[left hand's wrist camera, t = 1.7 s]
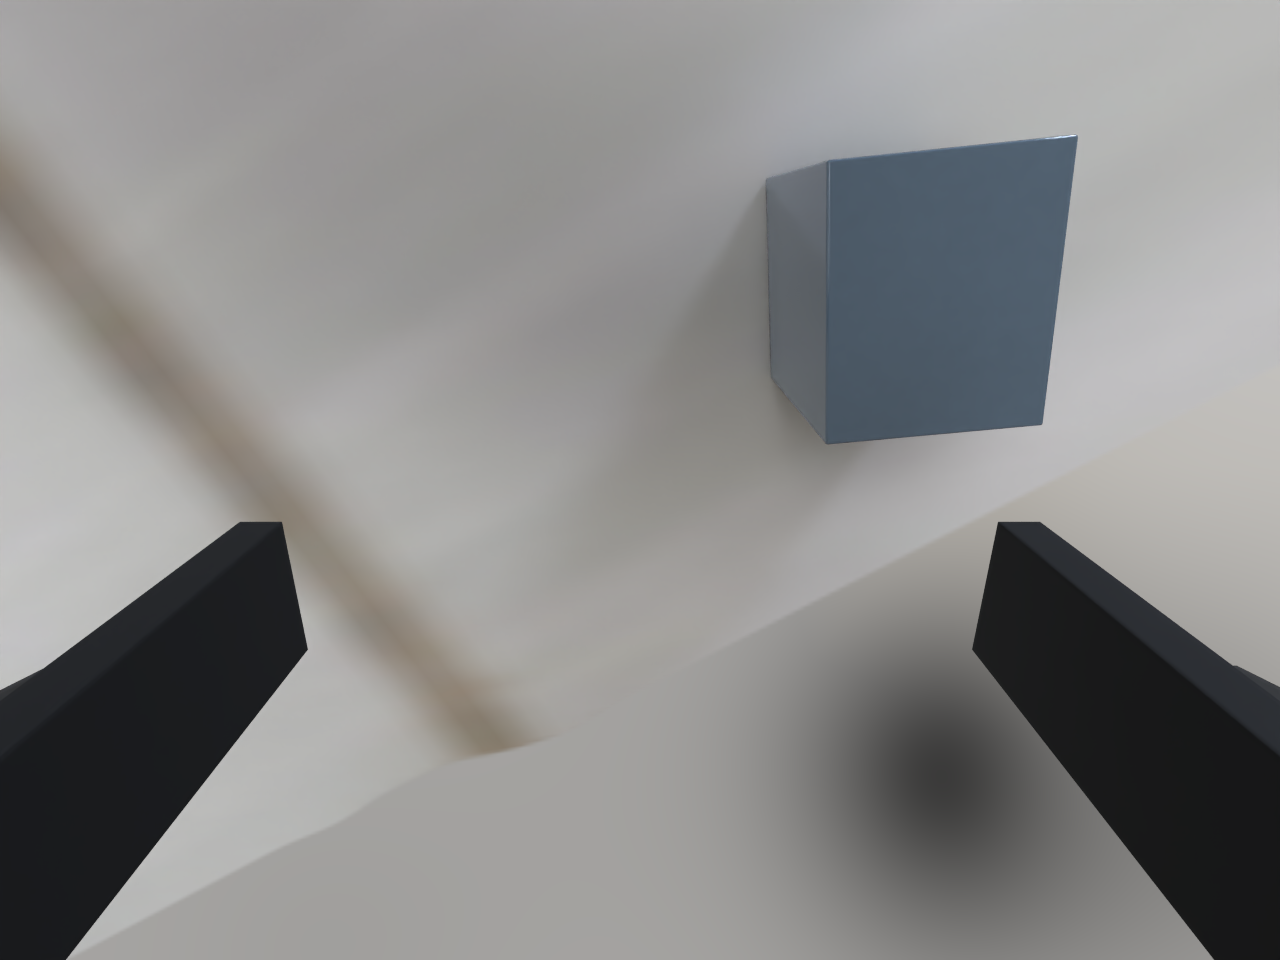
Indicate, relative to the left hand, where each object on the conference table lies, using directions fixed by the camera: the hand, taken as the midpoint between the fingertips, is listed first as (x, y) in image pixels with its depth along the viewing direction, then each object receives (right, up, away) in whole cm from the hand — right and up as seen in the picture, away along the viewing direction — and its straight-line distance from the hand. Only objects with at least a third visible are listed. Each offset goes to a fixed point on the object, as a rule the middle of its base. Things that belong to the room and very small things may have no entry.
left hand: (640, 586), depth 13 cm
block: (+9, +11, +17) cm, 22 cm away
